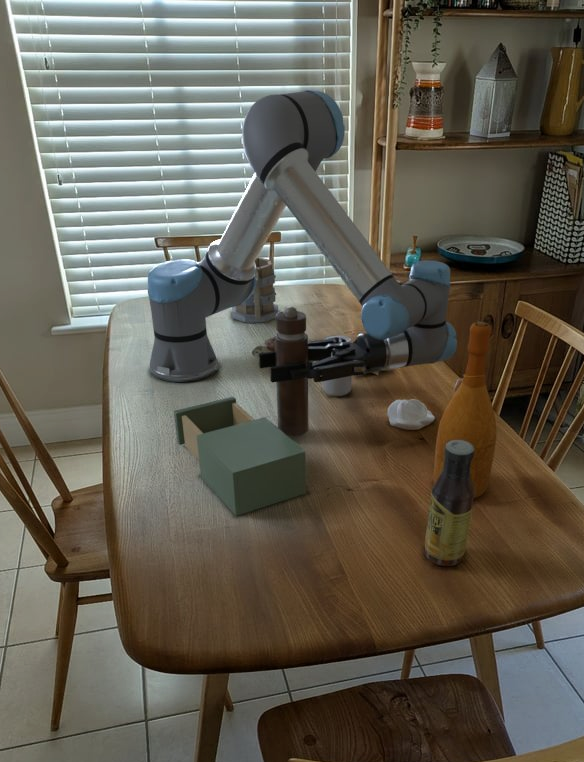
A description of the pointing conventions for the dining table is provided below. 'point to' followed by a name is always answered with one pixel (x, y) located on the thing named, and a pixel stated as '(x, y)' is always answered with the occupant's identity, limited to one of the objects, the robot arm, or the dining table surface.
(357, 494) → the dining table surface
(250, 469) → the cabinet
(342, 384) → the beverage can
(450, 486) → the sauce bottle
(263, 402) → the dining table surface
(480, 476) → the wine bottle
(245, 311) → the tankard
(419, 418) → the rose
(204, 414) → the drawer
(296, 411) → the pepper mill
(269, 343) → the decorative turtle
